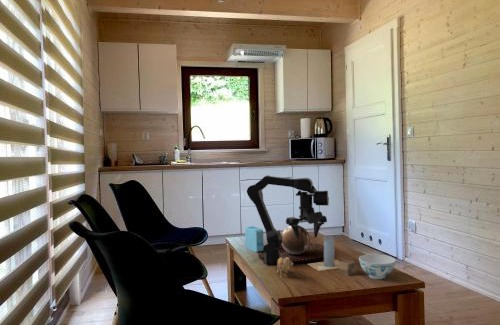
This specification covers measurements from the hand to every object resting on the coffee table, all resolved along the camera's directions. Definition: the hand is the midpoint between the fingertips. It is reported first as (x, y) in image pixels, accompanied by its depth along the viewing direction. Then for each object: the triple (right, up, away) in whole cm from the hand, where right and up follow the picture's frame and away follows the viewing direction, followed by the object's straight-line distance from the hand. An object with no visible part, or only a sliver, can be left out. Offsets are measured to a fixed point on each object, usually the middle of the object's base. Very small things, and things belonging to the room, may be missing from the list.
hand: (306, 238), depth 197 cm
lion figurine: (-12, -14, -12) cm, 22 cm away
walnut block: (+16, -13, -12) cm, 24 cm away
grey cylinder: (+10, -13, -1) cm, 16 cm away
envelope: (+10, -13, 0) cm, 16 cm away
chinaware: (+28, -13, -17) cm, 35 cm away
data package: (-24, -12, +32) cm, 42 cm away
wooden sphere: (-3, -12, +22) cm, 25 cm away
